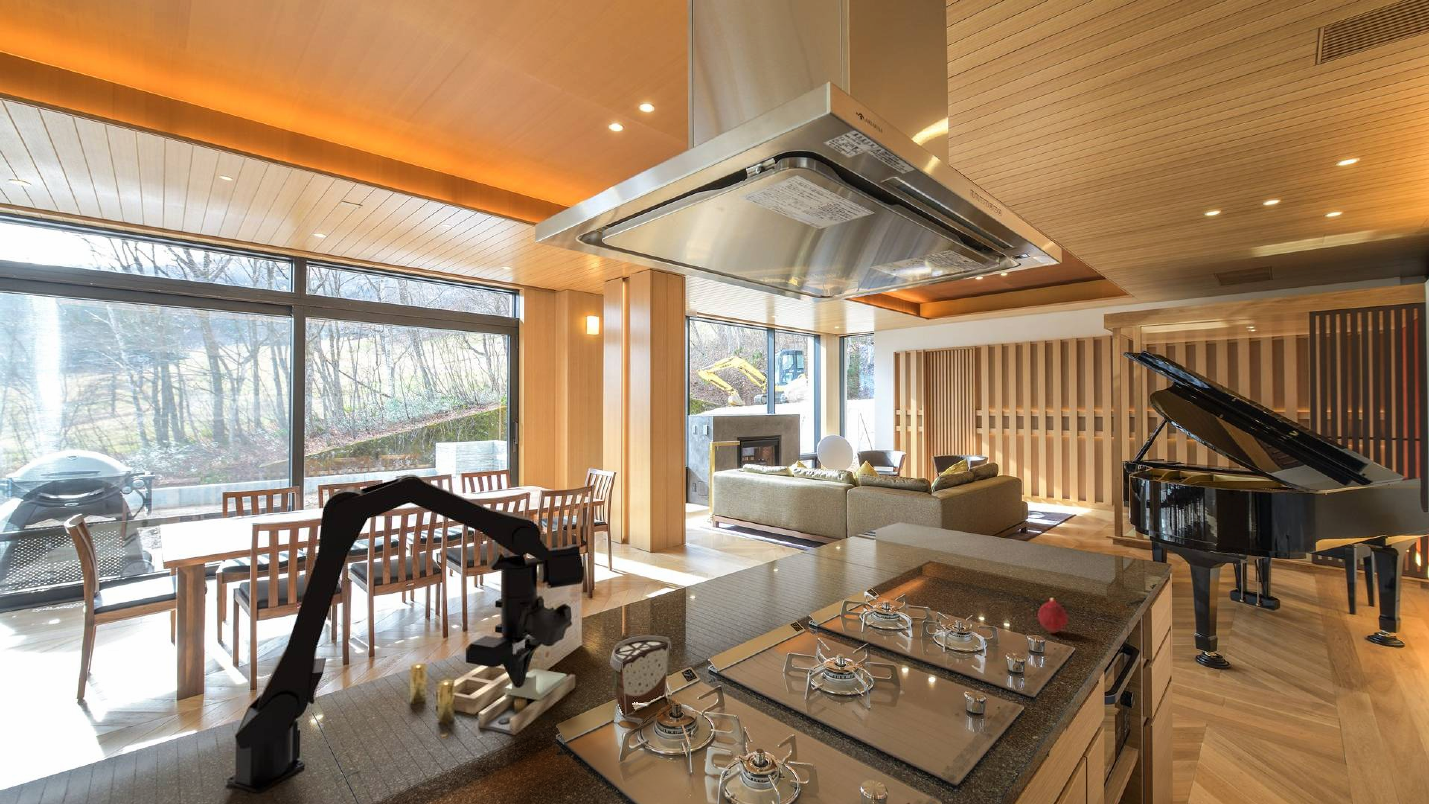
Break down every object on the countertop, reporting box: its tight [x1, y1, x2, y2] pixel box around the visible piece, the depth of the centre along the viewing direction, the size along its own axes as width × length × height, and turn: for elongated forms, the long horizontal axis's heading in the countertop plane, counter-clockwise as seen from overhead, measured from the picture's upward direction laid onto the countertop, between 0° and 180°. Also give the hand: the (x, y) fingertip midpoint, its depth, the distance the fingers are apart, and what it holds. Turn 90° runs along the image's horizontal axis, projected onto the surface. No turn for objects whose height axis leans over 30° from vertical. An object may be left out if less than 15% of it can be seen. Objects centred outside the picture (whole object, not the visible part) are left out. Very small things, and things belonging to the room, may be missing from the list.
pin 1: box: [409, 662, 427, 705], centre depth 103 cm, size 2×2×6 cm
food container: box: [609, 635, 672, 716], centre depth 103 cm, size 12×6×10 cm, turn 141°
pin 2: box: [437, 679, 455, 725], centre depth 96 cm, size 2×2×6 cm
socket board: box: [435, 665, 512, 715], centre depth 105 cm, size 12×8×2 cm, turn 161°
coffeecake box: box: [527, 554, 583, 672], centre depth 122 cm, size 15×7×20 cm, turn 162°
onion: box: [1037, 597, 1068, 634], centre depth 136 cm, size 6×6×8 cm
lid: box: [504, 669, 568, 701], centre depth 103 cm, size 8×7×4 cm
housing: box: [477, 670, 576, 736], centre depth 101 cm, size 17×7×2 cm, turn 161°
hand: (518, 686), depth 98 cm, fingers closed
